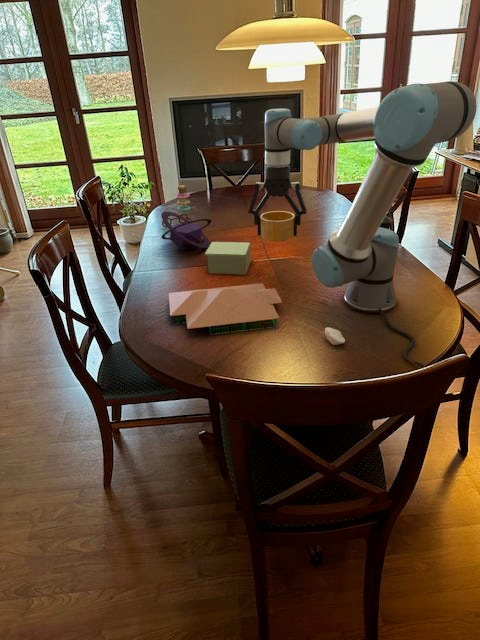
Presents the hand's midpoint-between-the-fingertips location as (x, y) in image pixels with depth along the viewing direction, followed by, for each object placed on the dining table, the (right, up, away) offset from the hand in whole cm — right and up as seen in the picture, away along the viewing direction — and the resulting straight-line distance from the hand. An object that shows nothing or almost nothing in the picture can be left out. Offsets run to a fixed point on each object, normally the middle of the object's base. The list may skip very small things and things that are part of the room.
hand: (277, 234), depth 145 cm
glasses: (-39, +13, +57) cm, 70 cm away
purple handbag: (-34, +1, +37) cm, 50 cm away
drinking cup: (+40, -3, +24) cm, 47 cm away
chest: (-16, -9, +18) cm, 25 cm away
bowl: (0, -1, 0) cm, 1 cm away
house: (-17, -26, -12) cm, 33 cm away
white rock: (+13, -34, -27) cm, 45 cm away
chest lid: (-17, -3, +14) cm, 22 cm away
